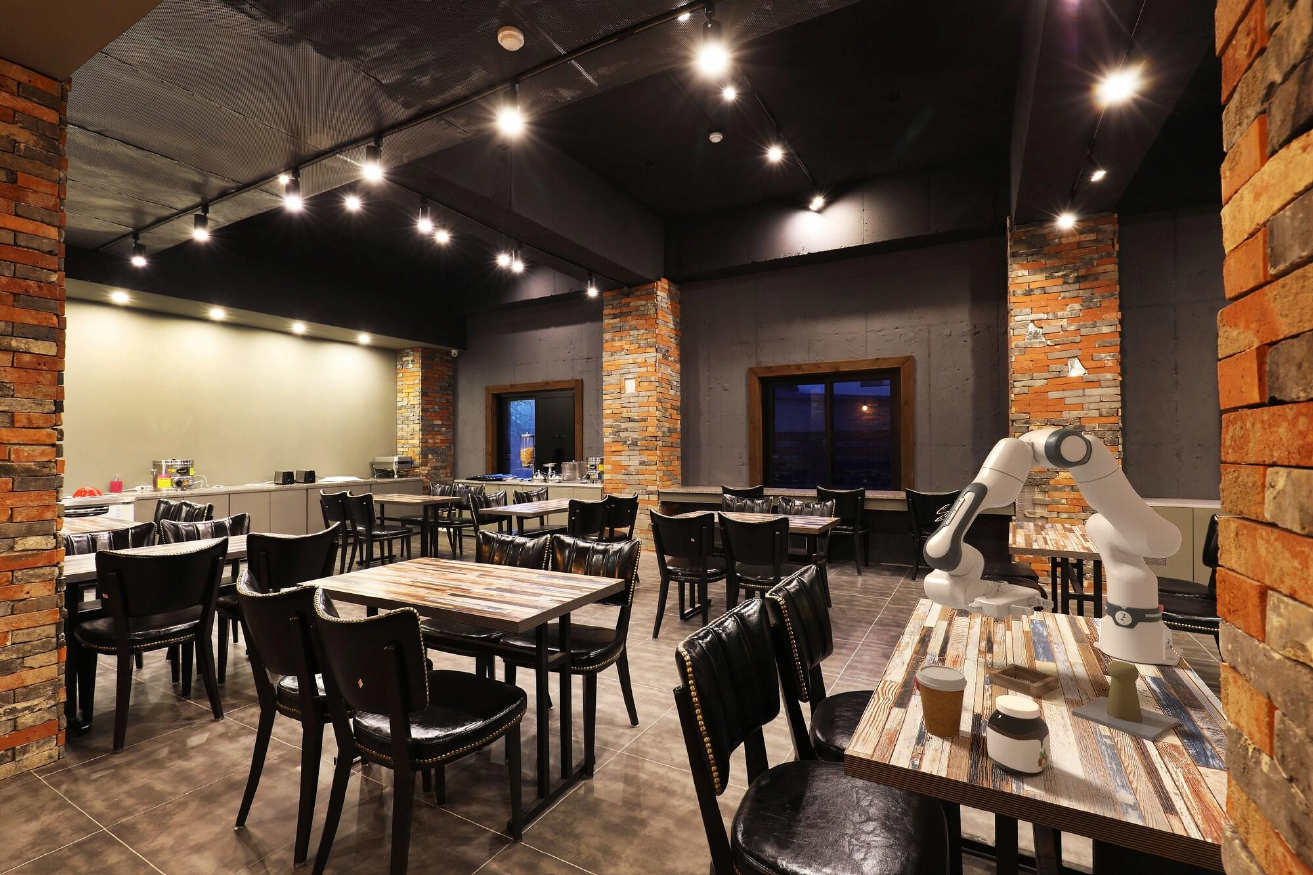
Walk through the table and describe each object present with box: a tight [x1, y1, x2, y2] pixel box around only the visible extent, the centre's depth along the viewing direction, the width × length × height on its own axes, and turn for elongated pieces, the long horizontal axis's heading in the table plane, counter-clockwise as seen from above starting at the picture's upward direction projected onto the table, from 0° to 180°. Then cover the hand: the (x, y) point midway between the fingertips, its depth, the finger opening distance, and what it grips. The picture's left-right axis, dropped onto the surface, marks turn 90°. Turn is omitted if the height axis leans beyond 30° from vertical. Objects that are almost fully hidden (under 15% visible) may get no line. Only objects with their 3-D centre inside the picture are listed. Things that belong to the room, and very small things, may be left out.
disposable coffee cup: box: [915, 664, 968, 739], centre depth 123 cm, size 10×10×12 cm
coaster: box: [1071, 695, 1180, 742], centre depth 127 cm, size 14×14×1 cm
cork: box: [1107, 661, 1142, 722], centre depth 127 cm, size 6×6×11 cm
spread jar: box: [985, 694, 1051, 778], centre depth 111 cm, size 12×11×12 cm
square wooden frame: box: [988, 663, 1060, 699], centre depth 145 cm, size 11×11×2 cm
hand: (1042, 608), depth 144 cm, fingers open, 8 cm apart
